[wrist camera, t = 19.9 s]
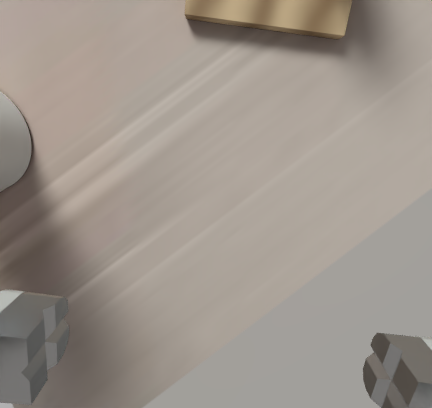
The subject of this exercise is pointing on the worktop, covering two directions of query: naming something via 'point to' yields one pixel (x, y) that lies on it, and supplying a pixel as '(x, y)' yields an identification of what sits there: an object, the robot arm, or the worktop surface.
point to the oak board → (276, 15)
